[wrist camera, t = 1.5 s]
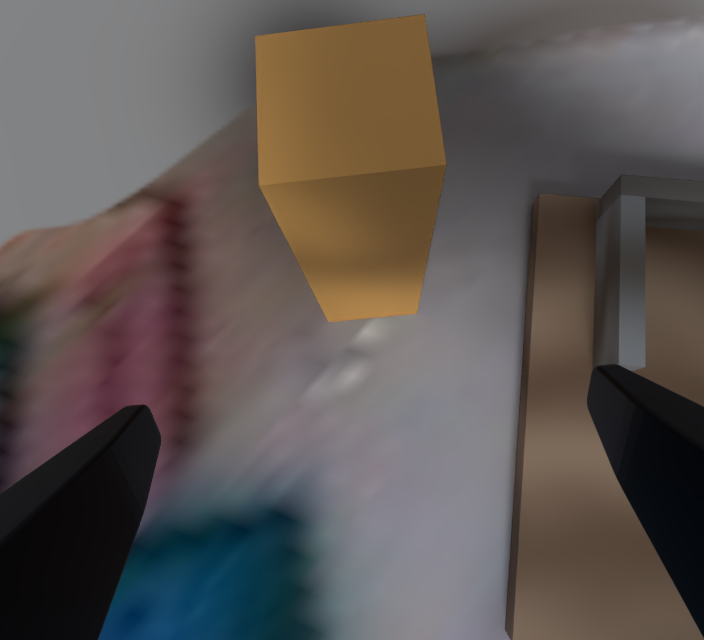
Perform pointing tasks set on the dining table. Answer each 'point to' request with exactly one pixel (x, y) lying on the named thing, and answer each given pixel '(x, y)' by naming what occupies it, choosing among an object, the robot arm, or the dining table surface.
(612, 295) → the keeper
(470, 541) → the dining table surface
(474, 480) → the dining table surface
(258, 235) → the dining table surface
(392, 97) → the block
